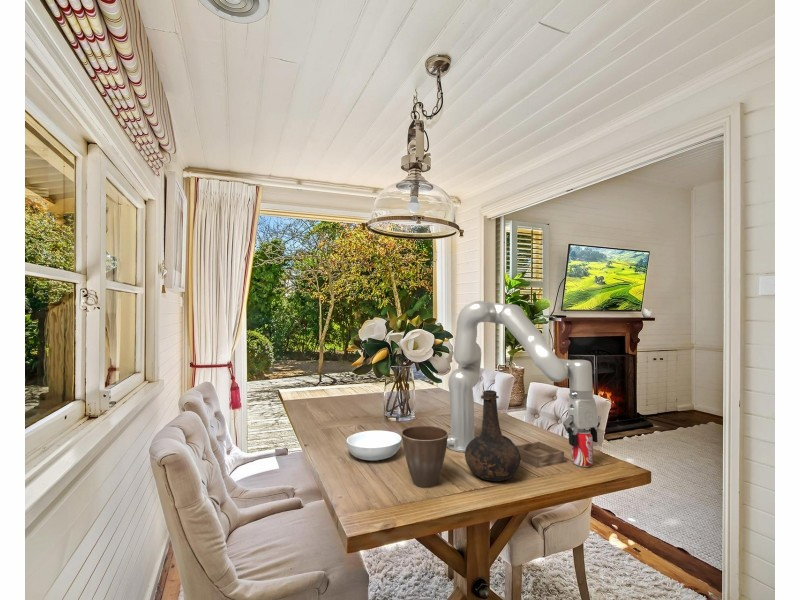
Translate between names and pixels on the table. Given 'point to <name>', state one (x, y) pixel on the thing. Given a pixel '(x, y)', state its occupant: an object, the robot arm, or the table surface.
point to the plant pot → (424, 453)
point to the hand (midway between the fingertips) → (583, 443)
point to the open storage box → (540, 454)
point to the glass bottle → (492, 446)
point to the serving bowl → (374, 444)
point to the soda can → (583, 449)
